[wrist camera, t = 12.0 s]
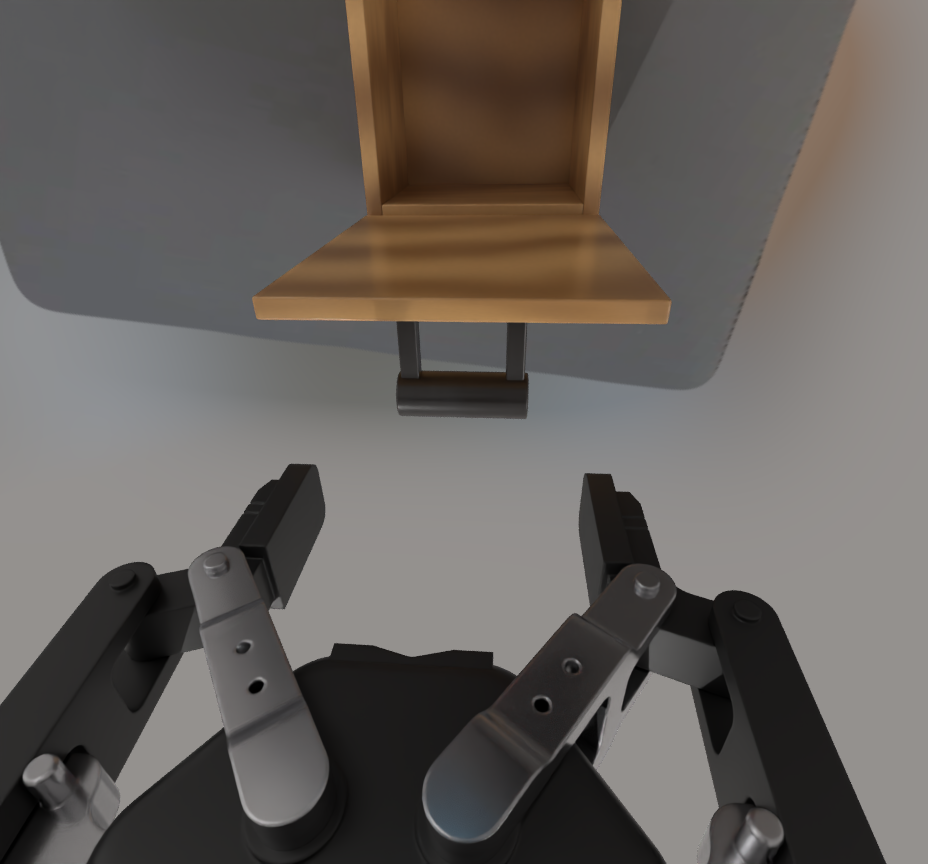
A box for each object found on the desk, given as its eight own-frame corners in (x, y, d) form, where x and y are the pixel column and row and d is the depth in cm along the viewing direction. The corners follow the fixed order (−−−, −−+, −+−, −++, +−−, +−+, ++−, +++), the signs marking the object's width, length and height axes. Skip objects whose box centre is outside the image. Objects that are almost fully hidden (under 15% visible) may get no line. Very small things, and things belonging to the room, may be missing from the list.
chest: (380, -68, 32) (330, -135, 23) (602, -78, 31) (638, -151, 22) (399, 196, 40) (367, 221, 31) (578, 195, 39) (598, 220, 30)
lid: (250, 296, 17) (282, 438, 20) (672, 300, 16) (644, 449, 19) (365, 215, 31) (374, 307, 33) (599, 214, 30) (589, 309, 32)
